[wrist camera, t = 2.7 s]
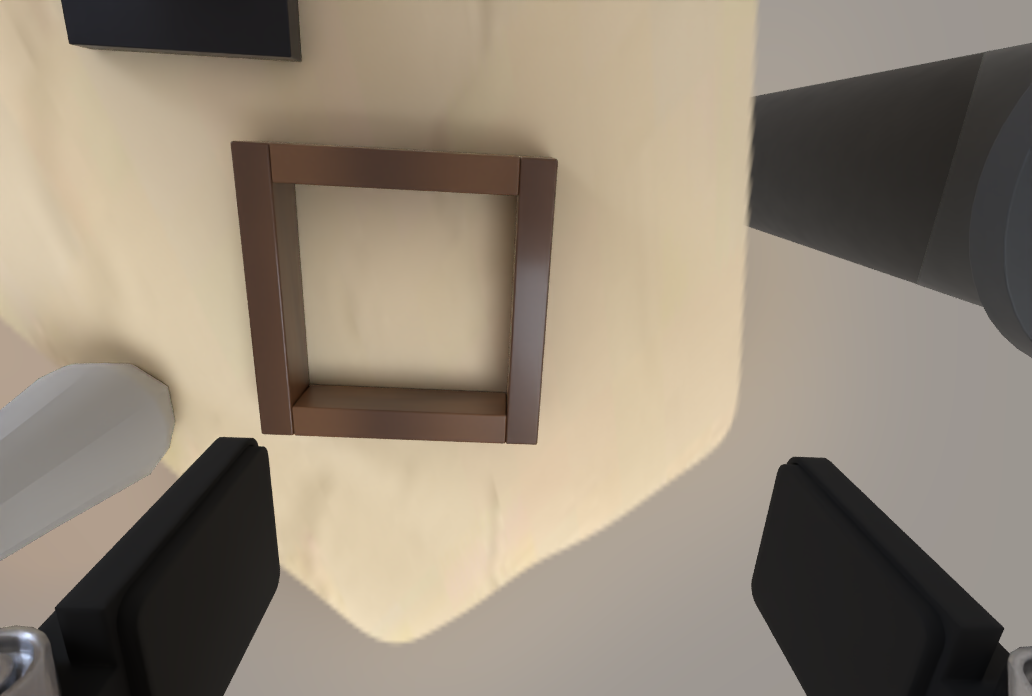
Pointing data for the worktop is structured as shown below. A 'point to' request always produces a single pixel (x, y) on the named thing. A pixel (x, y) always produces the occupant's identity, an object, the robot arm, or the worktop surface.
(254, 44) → the peg stand
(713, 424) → the worktop surface
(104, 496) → the salt shaker
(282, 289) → the walnut frame
